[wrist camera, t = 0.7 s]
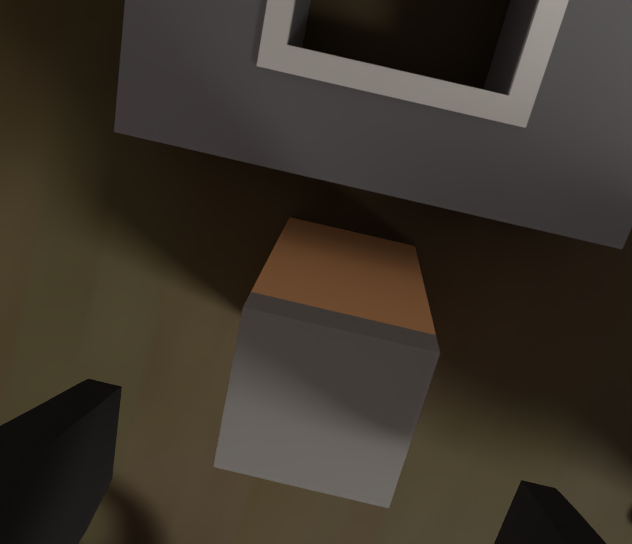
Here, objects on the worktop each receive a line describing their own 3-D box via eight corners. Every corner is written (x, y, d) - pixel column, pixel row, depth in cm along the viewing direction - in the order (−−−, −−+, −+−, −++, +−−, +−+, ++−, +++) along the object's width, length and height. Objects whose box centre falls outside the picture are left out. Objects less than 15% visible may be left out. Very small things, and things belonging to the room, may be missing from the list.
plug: (414, 245, 18) (440, 353, 11) (382, 356, 19) (388, 508, 13) (289, 216, 18) (242, 307, 11) (266, 329, 19) (213, 467, 13)
